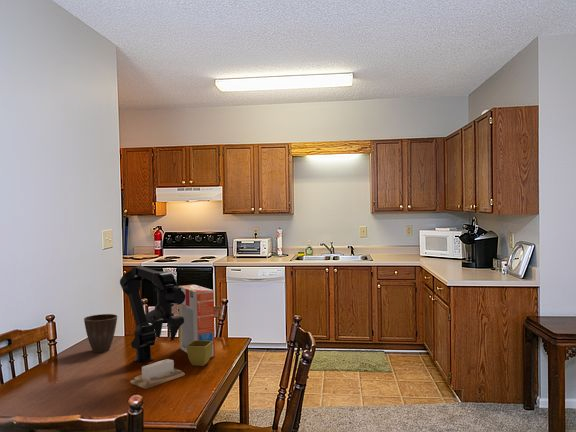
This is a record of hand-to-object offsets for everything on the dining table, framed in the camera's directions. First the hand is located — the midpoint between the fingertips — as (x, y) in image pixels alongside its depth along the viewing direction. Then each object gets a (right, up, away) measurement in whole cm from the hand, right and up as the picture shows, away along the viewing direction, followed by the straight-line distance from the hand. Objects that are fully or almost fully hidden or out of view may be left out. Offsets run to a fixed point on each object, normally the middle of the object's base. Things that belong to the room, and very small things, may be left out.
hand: (165, 338), depth 198 cm
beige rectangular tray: (+1, -12, -14) cm, 19 cm away
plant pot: (-38, -13, +28) cm, 49 cm away
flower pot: (+14, -12, +3) cm, 19 cm away
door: (+1, -11, -14) cm, 18 cm away
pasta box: (+9, -12, +21) cm, 26 cm away
